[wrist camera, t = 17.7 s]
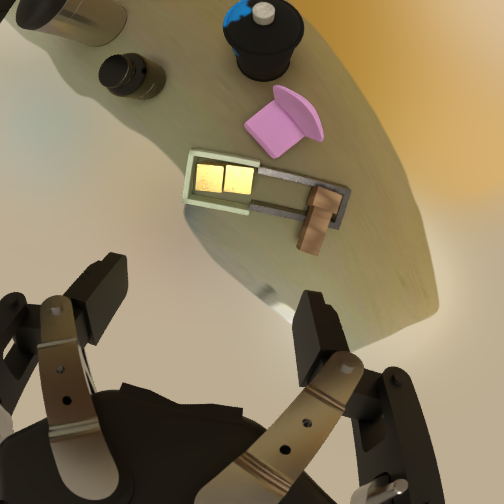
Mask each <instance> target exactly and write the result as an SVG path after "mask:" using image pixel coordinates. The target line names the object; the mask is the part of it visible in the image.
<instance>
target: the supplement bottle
mask: <svg viewBox="0 0 504 504" xmlns="http://www.w3.org/2000/svg"><path fill="white" fill-rule="evenodd" d="M99 80H100V83H101V84H102V85H103V86H105V87H107V89H108V90H109V91H110V92H111V93H112V94H113V95H116V96H119V97H126V98H133V99H139V100H146V99H150V98H152V97H154V96H155V95H157V94H158V93H159V92H160V91H161V89H162V88H163V85H164V83H165V73H164V70H163V69H162V67H161V66H159V65H158V64H156V63H155V62H153V61H151V60H149V59H147V58H145V57H143V56H141V55H139V54H136V53H126V54H123V55H119V54H117V55H114V56H111V57H109V58H108V59H106V60H105V61H104V62H103V64H102V65H101V67H100V70H99Z"/></svg>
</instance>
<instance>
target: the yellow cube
mask: <svg viewBox="0 0 504 504" xmlns="http://www.w3.org/2000/svg"><path fill="white" fill-rule="evenodd" d="M226 166H227V163H221V162H211V161H202V162H200V163H199V164H197V176H196V190H201V191H211V192H220V193H221V192H222V191H223V189H224V184H225V175H226Z"/></svg>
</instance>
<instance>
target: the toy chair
mask: <svg viewBox="0 0 504 504" xmlns="http://www.w3.org/2000/svg"><path fill="white" fill-rule="evenodd" d="M273 93H274V98H275V99H274V100H273V101H271V102H270V103H269V104H267V105H266V106H265V107H264V108H262V109H261V110H260V111H259V112H257V113H256V114H255V115H254V116H252V117H251V118H250V119H249V120H248V121H246V122H245V124H244V127H245V129H246V130H247V131H248V132H249V133H250V134H251V135H252V137H253V138H254V139H255V140H256V141H257V142H258V143H259V144H260V145H261V147H262V148H263V149H264V150H265V151H266V152H267V153H268V154H269V156H271V157H272V158H278V157H279V156H281V155H282V154H283V153H284V152H286V151H287V150H288V149H289V148H291V147H292V146H293V145H294V144H296V143H297V142H298V141H299V140H301V139H302V138H303V137H305V136H306V137H309V138H311V139H314V140H316V141H319V142H322V141H323V139H324V134H323V129H322V126H321V122H320V119H319V117H318V114H317V112H316V110H315V109H314V107H313V106H312V105H311V103H310V102H309V101H308V100H306V99H305V98H304V97H302V96H301V95H299V94H297V93H296V92H294V91H292V90H290V89H288V88H286V87H283V86H281V85H275V86H273Z"/></svg>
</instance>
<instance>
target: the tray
mask: <svg viewBox="0 0 504 504" xmlns="http://www.w3.org/2000/svg"><path fill="white" fill-rule="evenodd" d="M198 156H199V157H206V158H212V159H217V160H223V161H229V162H234V163H239V164H244V165H249V166H254V167H259V165H260V160H258V159H254V158H249V157H244V156H238V155H233V154H228V153H222V152H216V151H210V150H204V149H198V148H193V149H190V150H189V155H188V162H187V168H186V175H185V183H184V190H183V199H182V203H186V204H191V205H197V206H202V207H208V208H213V209H218V210H223V211H228V212H233V213H238V214H243V215H249V211H250V205H246V204H241V203H236V202H231V201H226V200H221V199H216V198H211V197H205V196H200V195H194V194H192V189H193V182H194V176H195V169H196V163H197V157H198Z"/></svg>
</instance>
